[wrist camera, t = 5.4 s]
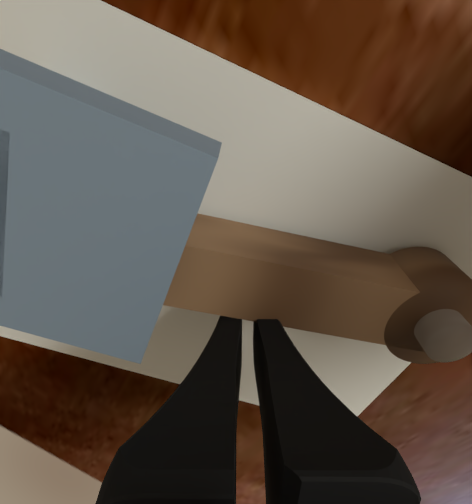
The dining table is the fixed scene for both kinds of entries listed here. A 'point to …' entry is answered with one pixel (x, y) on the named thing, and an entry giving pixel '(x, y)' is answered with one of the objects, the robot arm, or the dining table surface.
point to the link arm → (327, 288)
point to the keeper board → (254, 177)
